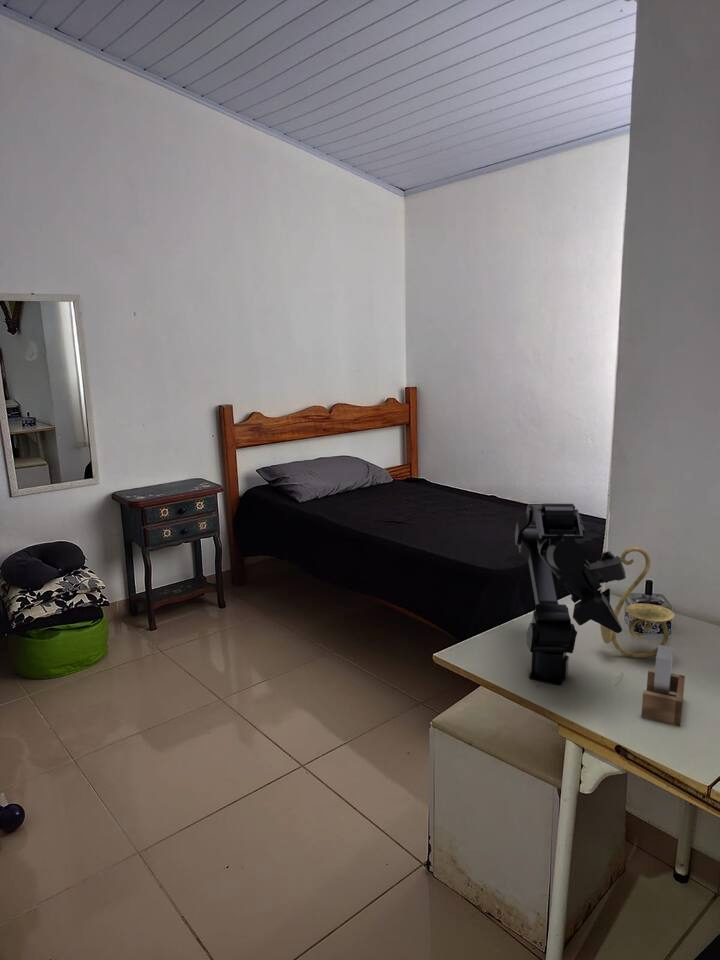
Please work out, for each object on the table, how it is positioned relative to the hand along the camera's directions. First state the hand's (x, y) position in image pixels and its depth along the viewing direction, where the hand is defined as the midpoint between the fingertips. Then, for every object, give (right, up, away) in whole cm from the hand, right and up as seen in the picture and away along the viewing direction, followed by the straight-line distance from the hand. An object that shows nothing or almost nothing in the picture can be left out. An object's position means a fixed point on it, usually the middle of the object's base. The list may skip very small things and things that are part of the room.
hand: (620, 631), depth 121 cm
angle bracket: (+7, -14, -2) cm, 15 cm away
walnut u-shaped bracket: (+7, -14, -2) cm, 16 cm away
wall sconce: (+11, -10, +18) cm, 23 cm away
